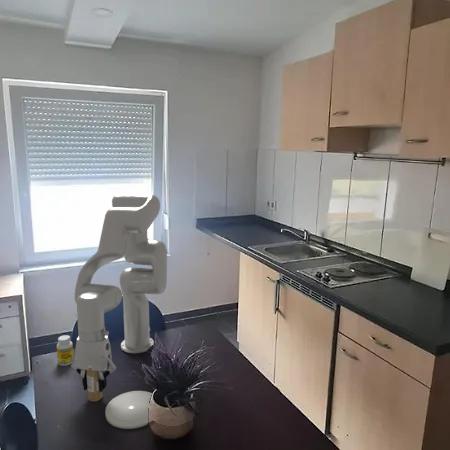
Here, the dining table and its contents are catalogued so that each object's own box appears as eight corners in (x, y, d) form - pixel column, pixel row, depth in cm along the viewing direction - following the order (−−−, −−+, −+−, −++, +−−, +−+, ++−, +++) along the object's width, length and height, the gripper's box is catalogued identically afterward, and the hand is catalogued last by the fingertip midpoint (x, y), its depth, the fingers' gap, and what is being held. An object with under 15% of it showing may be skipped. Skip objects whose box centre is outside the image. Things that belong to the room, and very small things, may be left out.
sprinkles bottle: (104, 399, 126) (102, 359, 123) (89, 404, 124) (87, 363, 121) (100, 391, 130) (98, 352, 127) (85, 396, 127) (83, 356, 125)
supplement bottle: (71, 357, 151) (69, 332, 149) (75, 363, 146) (74, 338, 145) (56, 361, 148) (54, 336, 146) (60, 367, 143) (58, 342, 141)
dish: (118, 392, 130) (118, 388, 129) (167, 397, 127) (167, 393, 127) (95, 425, 114) (95, 421, 114) (150, 431, 112) (150, 427, 112)
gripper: (123, 330, 125) (125, 384, 128) (72, 326, 127) (75, 379, 131) (113, 341, 118) (115, 398, 121) (58, 337, 120) (62, 393, 124)
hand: (94, 387), depth 126 cm, fingers closed on sprinkles bottle, 4 cm apart
